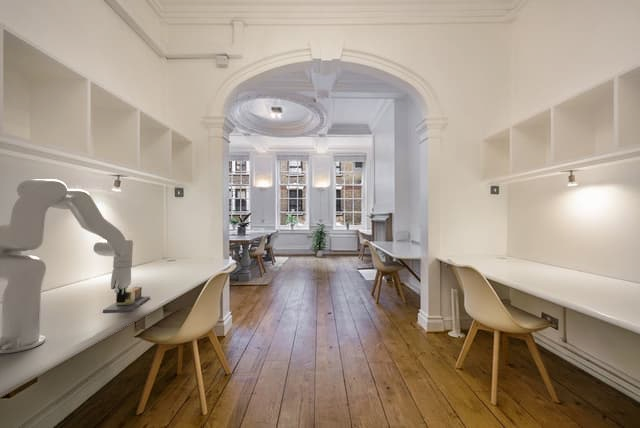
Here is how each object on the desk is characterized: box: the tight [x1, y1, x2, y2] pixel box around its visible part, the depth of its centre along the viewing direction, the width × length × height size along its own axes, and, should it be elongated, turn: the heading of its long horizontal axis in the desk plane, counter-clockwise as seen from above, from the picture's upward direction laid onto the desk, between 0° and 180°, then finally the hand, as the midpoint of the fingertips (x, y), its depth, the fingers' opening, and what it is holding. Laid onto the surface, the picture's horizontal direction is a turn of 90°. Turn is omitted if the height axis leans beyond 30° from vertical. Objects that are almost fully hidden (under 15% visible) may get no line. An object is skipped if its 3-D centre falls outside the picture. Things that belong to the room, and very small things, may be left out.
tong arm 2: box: [134, 286, 143, 300], centre depth 150 cm, size 15×2×5 cm, turn 10°
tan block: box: [115, 289, 135, 305], centre depth 143 cm, size 4×7×6 cm, turn 100°
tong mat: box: [102, 295, 151, 314], centre depth 146 cm, size 22×12×1 cm, turn 10°
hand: (120, 302), depth 139 cm, fingers closed
